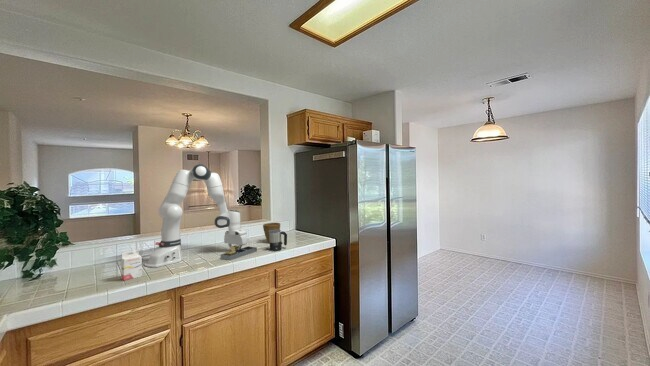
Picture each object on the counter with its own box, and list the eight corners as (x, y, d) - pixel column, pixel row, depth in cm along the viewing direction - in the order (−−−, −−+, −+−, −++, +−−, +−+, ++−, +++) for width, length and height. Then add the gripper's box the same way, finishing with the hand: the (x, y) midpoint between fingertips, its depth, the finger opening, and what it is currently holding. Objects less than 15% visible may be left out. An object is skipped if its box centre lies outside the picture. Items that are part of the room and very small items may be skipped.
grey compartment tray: (230, 261, 175) (229, 256, 175) (220, 259, 180) (220, 254, 180) (256, 252, 197) (256, 247, 197) (248, 250, 202) (247, 246, 202)
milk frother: (272, 252, 196) (272, 232, 196) (263, 248, 209) (262, 229, 209) (289, 248, 205) (288, 229, 205) (279, 245, 218) (278, 227, 218)
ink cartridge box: (124, 281, 144) (123, 253, 144) (121, 279, 147) (120, 252, 147) (142, 276, 150) (141, 250, 150) (139, 274, 154) (138, 249, 154)
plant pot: (265, 240, 236) (265, 222, 236) (282, 240, 235) (282, 222, 235) (261, 244, 221) (260, 225, 221) (278, 244, 220) (278, 225, 220)
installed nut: (230, 259, 178) (230, 252, 178) (225, 258, 181) (225, 251, 181) (235, 257, 182) (235, 250, 182) (231, 256, 185) (230, 249, 185)
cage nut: (235, 253, 196) (234, 246, 196) (230, 252, 198) (230, 246, 198) (239, 251, 200) (239, 245, 200) (235, 251, 202) (235, 245, 202)
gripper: (221, 231, 201) (222, 249, 201) (241, 233, 192) (241, 252, 192) (228, 230, 207) (228, 247, 207) (247, 231, 197) (248, 250, 197)
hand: (235, 250), depth 199 cm, fingers open, 7 cm apart
